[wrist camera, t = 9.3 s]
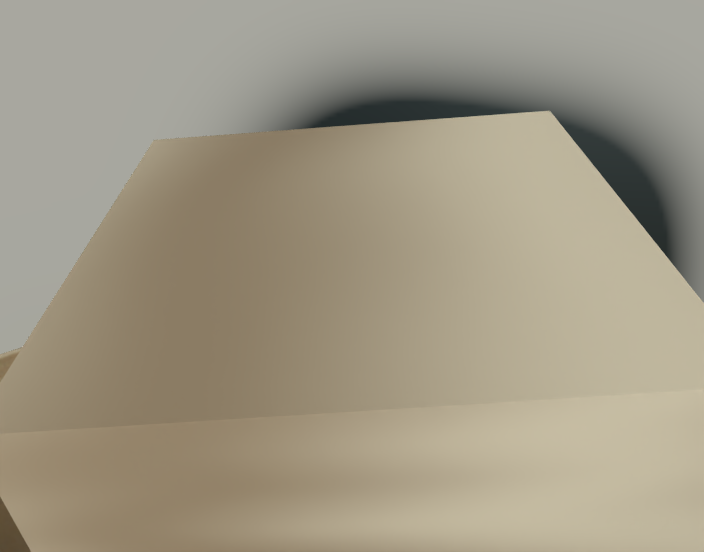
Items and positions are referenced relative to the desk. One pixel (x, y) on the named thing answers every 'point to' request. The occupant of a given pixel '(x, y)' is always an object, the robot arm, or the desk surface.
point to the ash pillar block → (363, 355)
